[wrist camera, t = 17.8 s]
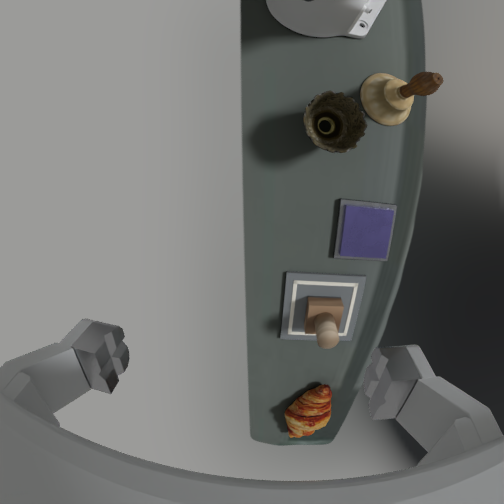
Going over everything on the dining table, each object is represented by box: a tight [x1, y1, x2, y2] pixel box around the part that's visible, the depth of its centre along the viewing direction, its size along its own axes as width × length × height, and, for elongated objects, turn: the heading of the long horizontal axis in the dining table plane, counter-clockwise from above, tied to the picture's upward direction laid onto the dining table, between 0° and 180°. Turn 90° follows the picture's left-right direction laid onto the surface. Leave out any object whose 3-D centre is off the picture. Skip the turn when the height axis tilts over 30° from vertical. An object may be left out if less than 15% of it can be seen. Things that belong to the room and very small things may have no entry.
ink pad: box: [333, 199, 397, 261], centre depth 40 cm, size 9×9×2 cm
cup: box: [303, 91, 367, 153], centre depth 32 cm, size 8×7×8 cm
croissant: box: [285, 384, 332, 438], centre depth 54 cm, size 21×10×8 cm, turn 167°
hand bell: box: [360, 72, 443, 126], centre depth 26 cm, size 8×8×16 cm
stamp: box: [304, 296, 344, 349], centre depth 42 cm, size 6×6×8 cm
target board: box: [280, 271, 366, 341], centre depth 46 cm, size 13×13×1 cm
